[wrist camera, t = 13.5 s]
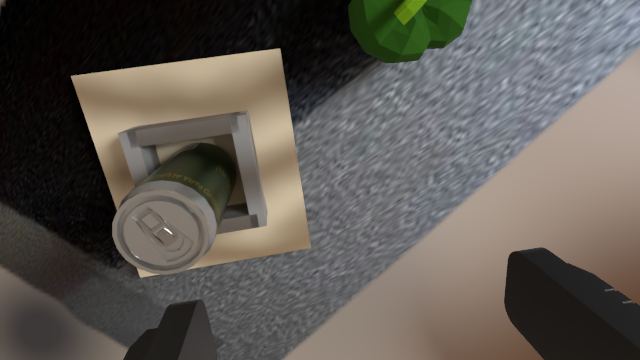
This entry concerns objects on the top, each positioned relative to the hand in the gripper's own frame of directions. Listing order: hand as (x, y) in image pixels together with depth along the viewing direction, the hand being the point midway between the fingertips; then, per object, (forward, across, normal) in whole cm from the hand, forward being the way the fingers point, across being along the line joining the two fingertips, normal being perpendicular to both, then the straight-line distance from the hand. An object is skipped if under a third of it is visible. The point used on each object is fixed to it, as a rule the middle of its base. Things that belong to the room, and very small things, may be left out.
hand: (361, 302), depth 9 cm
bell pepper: (+24, -8, -9) cm, 27 cm away
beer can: (+22, +9, +2) cm, 24 cm away
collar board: (+24, +9, +2) cm, 25 cm away
